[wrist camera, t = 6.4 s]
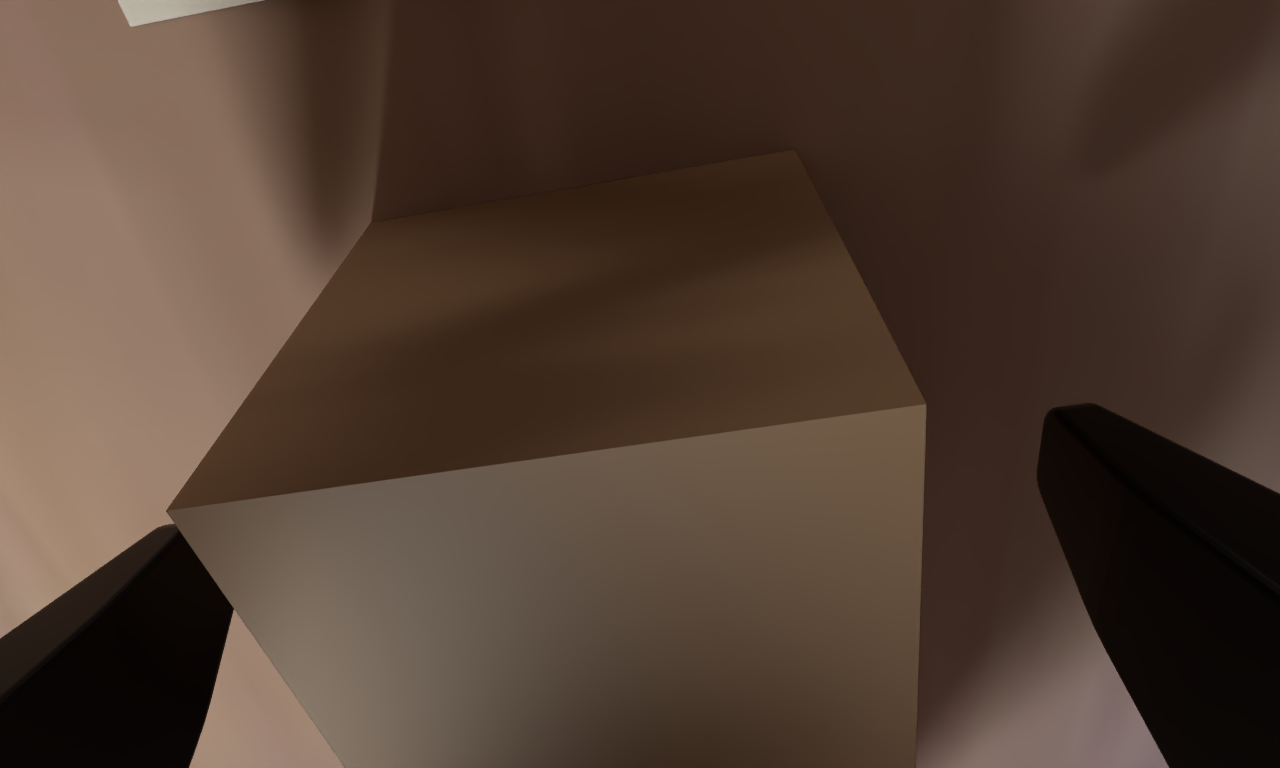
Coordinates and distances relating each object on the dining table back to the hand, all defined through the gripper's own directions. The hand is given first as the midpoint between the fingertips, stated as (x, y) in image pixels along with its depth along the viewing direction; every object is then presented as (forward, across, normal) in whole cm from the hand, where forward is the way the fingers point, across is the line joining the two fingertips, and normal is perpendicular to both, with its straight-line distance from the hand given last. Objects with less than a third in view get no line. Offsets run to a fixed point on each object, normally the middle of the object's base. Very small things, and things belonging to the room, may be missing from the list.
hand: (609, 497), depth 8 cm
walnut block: (+3, 0, 0) cm, 3 cm away
